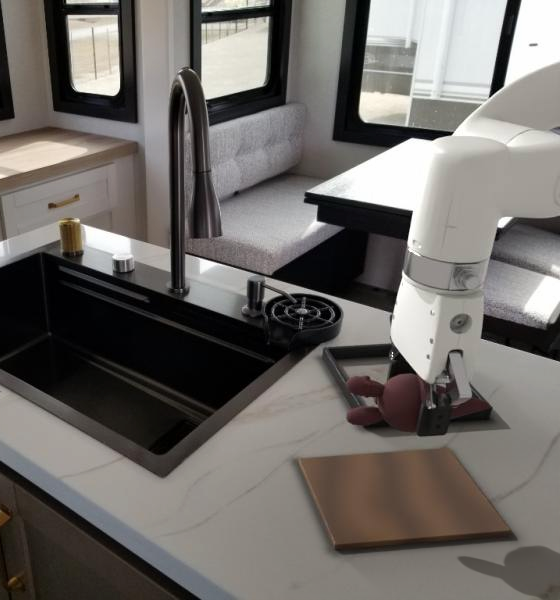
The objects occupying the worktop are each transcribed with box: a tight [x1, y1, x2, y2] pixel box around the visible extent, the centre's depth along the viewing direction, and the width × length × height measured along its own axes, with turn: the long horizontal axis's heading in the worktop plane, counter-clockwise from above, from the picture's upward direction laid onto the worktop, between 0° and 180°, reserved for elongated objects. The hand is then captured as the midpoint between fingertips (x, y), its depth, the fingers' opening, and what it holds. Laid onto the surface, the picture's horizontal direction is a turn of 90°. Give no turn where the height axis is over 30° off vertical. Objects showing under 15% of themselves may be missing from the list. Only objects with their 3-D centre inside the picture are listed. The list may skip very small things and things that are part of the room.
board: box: [297, 447, 511, 551], centre depth 76 cm, size 20×14×1 cm
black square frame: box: [321, 342, 493, 429], centre depth 96 cm, size 18×18×2 cm
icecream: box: [345, 373, 491, 434], centre depth 70 cm, size 7×7×15 cm
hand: (414, 410), depth 71 cm, fingers closed on icecream, 7 cm apart
